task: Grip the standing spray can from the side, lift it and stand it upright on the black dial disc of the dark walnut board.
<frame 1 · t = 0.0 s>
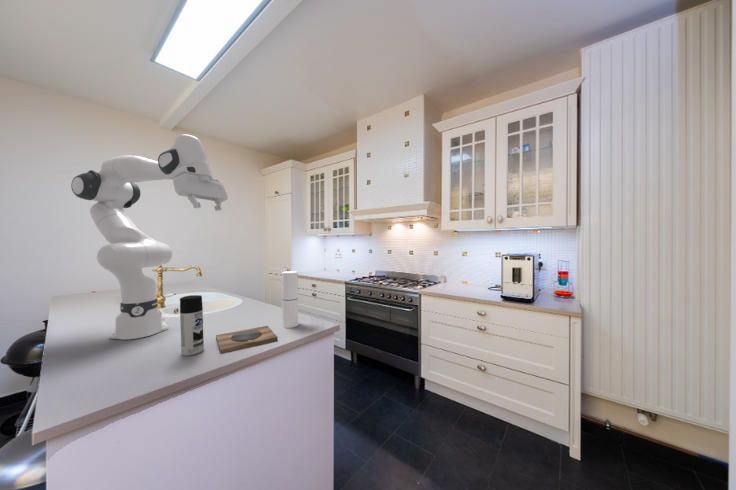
hand: (208, 209, 99), 52 cm above the counter, tool tilted 20°, fingers open, 8 cm apart
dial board: (246, 339, 104), on the counter
cylindrical container: (290, 325, 121), on the counter
spray can: (192, 352, 93), on the counter
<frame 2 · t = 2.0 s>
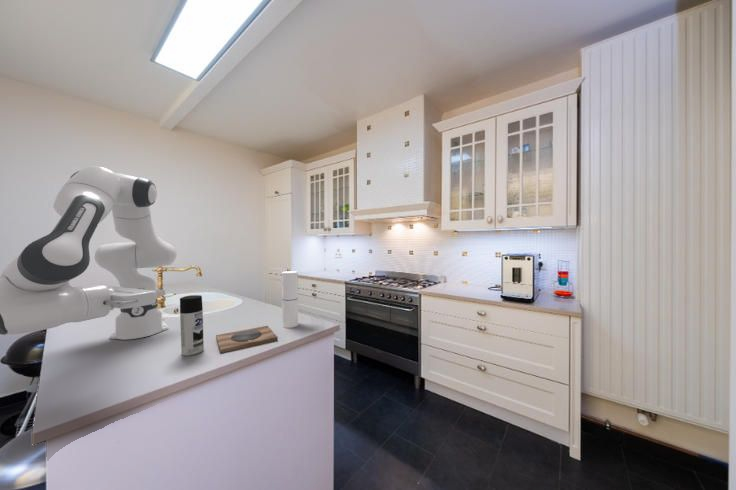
hand: (153, 291, 81), 24 cm above the counter, tool horizontal, fingers open, 8 cm apart
nothing on the counter moved.
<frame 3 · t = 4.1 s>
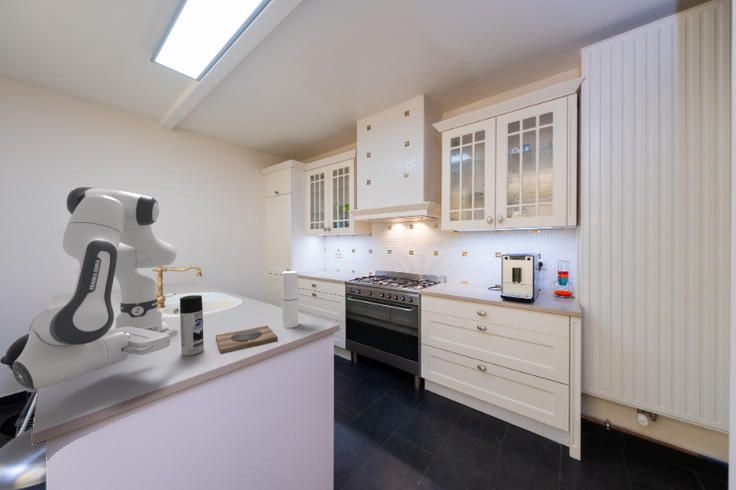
hand: (166, 330, 84), 11 cm above the counter, tool horizontal, fingers open, 8 cm apart
nothing on the counter moved.
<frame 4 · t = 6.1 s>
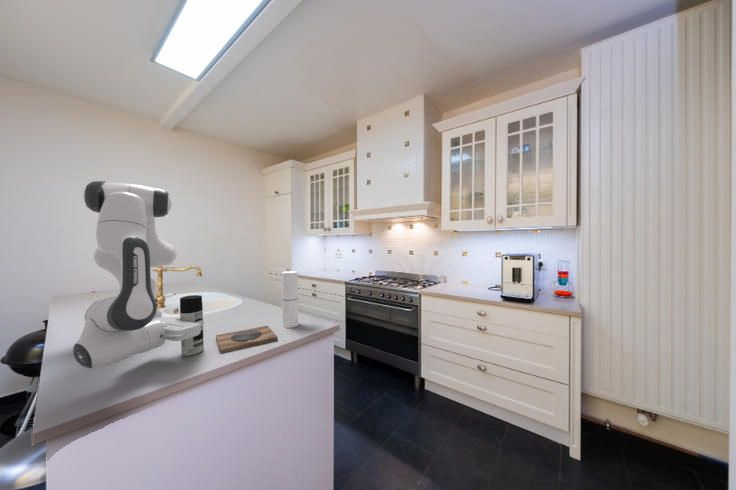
hand: (194, 320, 93), 11 cm above the counter, tool horizontal, fingers closed on spray can, 7 cm apart
spray can: (192, 352, 93), on the counter, touching gripper
everything else where it was.
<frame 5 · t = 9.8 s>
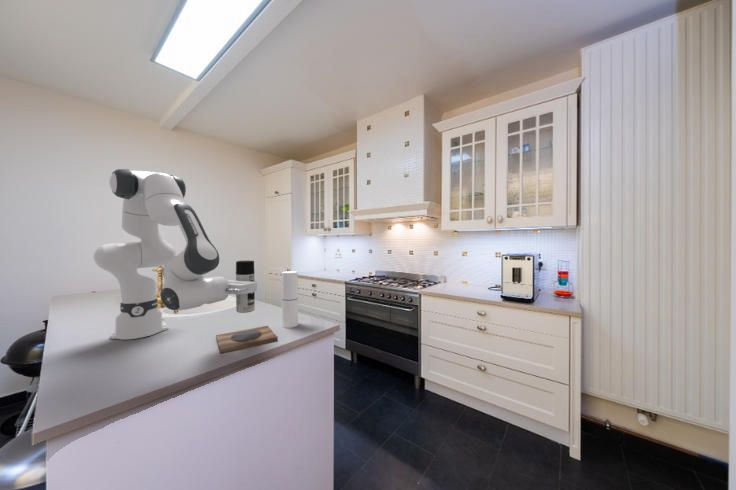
hand: (247, 282, 104), 23 cm above the counter, tool horizontal, fingers closed on spray can, 7 cm apart
spray can: (245, 311, 103), point 12 cm above the counter, touching gripper
everything else where it was.
when the fingers open (14 cm above the counter, at t = 12.5 s): spray can stays where it is, resting on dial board.
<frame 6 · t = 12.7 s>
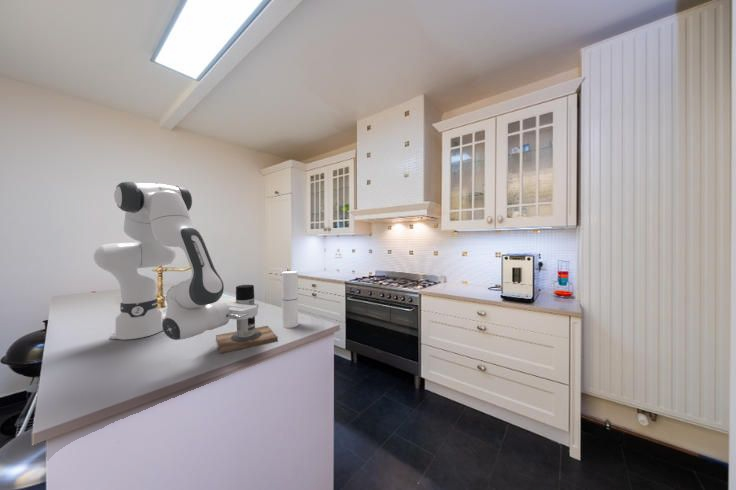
hand: (247, 304, 104), 14 cm above the counter, tool horizontal, fingers open, 8 cm apart
spray can: (245, 335, 104), point 2 cm above the counter, touching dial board
everything else where it was.
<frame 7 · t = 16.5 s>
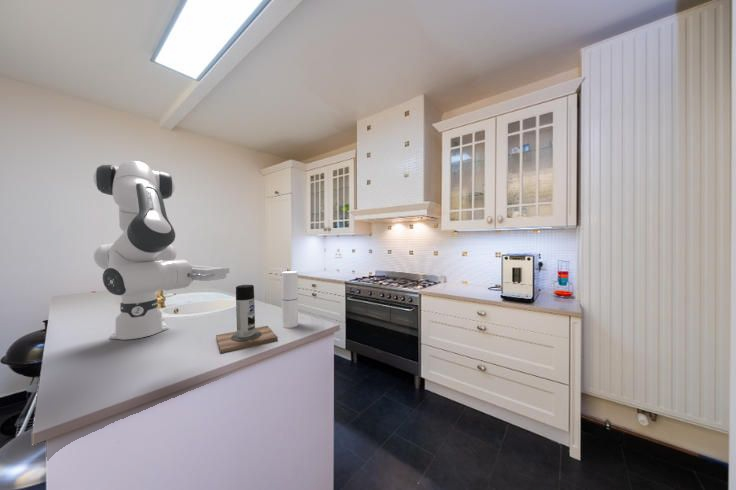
hand: (217, 269, 92), 30 cm above the counter, tool horizontal, fingers open, 8 cm apart
nothing on the counter moved.
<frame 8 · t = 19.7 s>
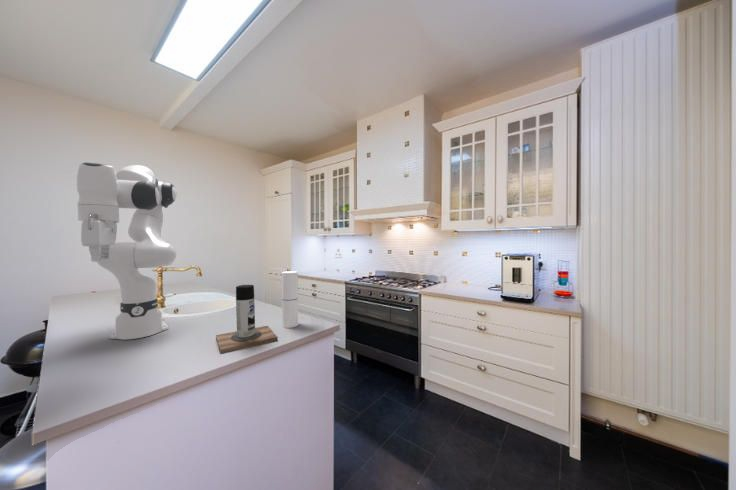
hand: (100, 260, 80), 34 cm above the counter, tool pointing down, fingers open, 8 cm apart
nothing on the counter moved.
at the end: spray can inside the target area on the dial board (0.3 cm from its centre), point 1.6 cm above the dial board's base; spray can tilted 0°; the gripper is holding nothing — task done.
